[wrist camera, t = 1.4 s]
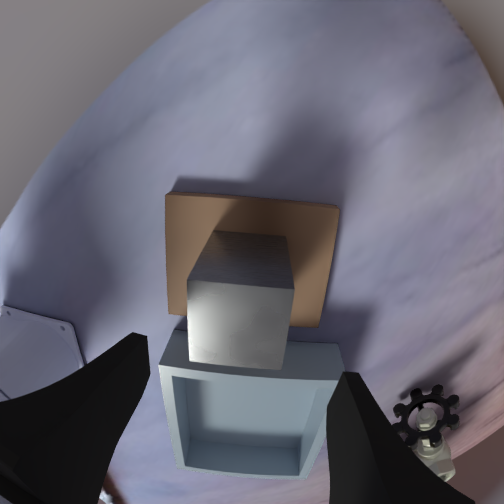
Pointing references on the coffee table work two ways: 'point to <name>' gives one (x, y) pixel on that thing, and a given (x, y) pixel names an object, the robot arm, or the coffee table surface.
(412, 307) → the coffee table surface
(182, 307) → the stud block
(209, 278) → the grey rectangular block
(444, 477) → the valve
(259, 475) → the bin
